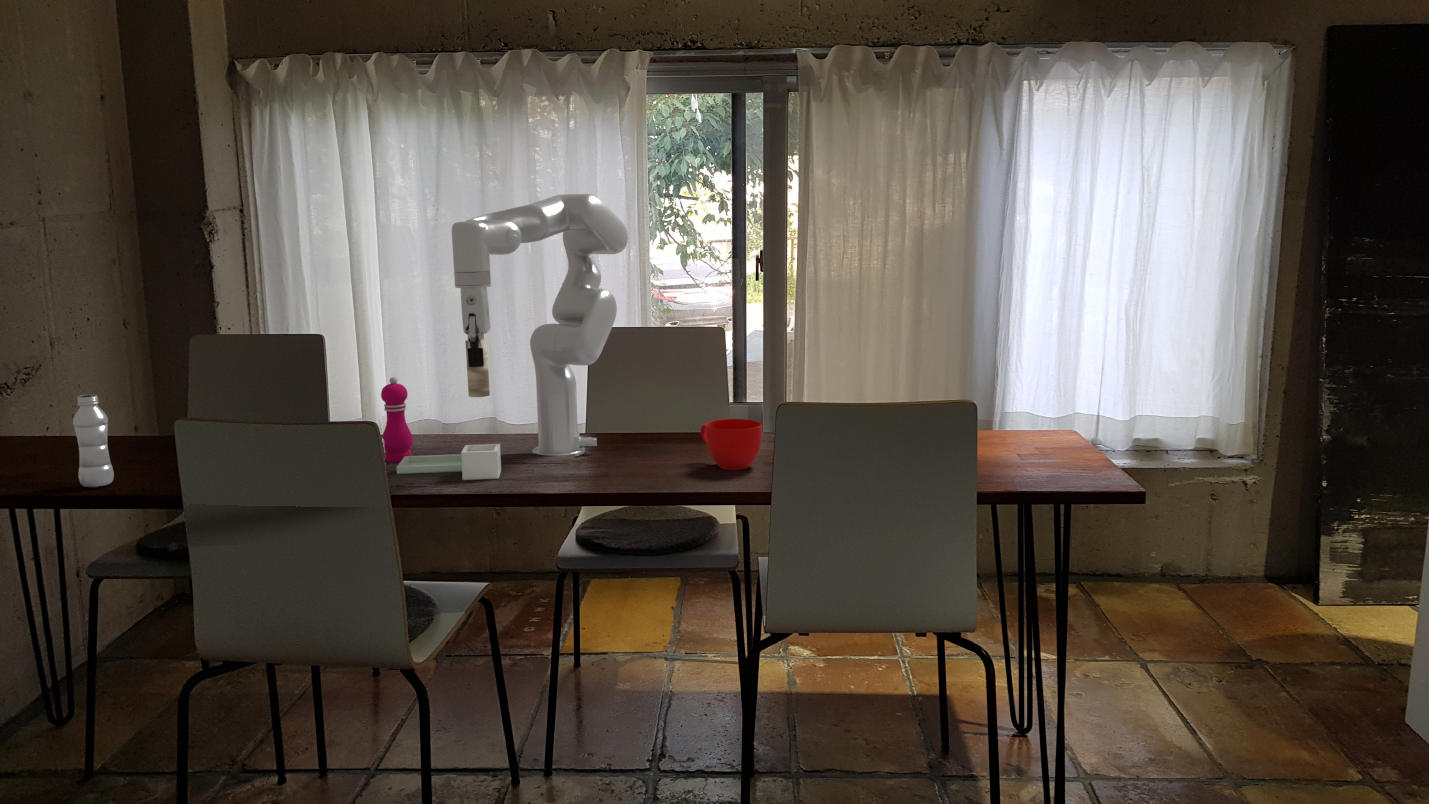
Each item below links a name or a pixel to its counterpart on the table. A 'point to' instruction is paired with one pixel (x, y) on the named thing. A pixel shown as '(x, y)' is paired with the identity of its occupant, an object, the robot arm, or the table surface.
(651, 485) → the table surface
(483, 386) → the beige ringed cylinder
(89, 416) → the plastic bottle
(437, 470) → the tray
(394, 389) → the pepper mill
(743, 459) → the ceramic cup
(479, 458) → the box
